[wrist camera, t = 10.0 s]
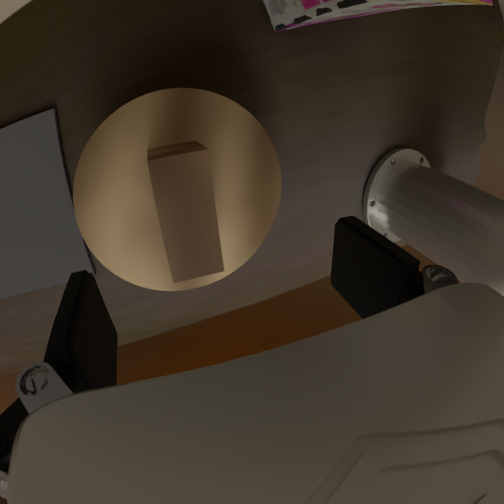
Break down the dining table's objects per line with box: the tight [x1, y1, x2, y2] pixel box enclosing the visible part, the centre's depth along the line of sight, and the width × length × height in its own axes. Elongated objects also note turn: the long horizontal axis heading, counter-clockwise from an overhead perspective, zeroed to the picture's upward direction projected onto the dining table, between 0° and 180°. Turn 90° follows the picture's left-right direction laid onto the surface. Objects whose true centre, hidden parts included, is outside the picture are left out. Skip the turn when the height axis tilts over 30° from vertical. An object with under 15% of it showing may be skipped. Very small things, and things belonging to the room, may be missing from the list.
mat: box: [0, 108, 96, 299], centre depth 20 cm, size 16×16×1 cm
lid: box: [73, 88, 282, 291], centre depth 17 cm, size 14×14×5 cm
